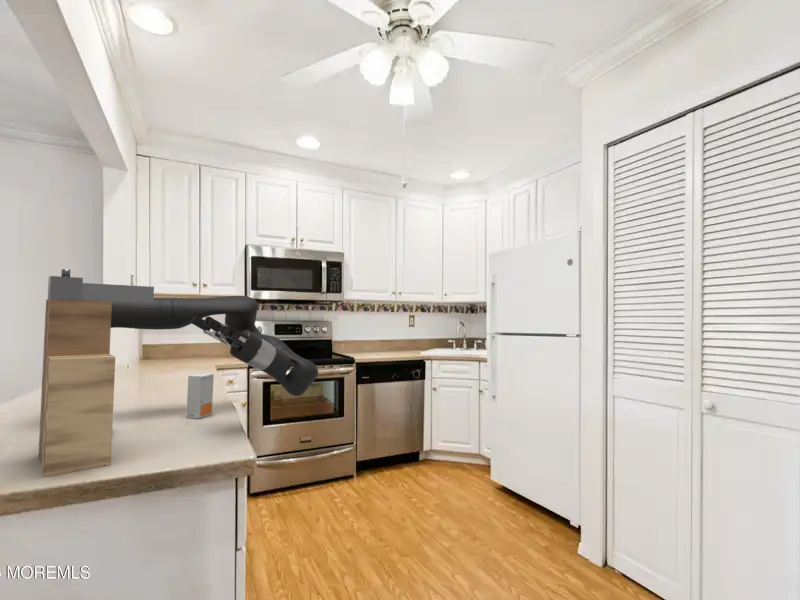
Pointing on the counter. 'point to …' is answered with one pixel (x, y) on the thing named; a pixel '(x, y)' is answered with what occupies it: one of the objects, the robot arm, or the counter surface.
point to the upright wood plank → (76, 386)
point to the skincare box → (200, 395)
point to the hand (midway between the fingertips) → (199, 319)
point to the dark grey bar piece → (95, 290)
